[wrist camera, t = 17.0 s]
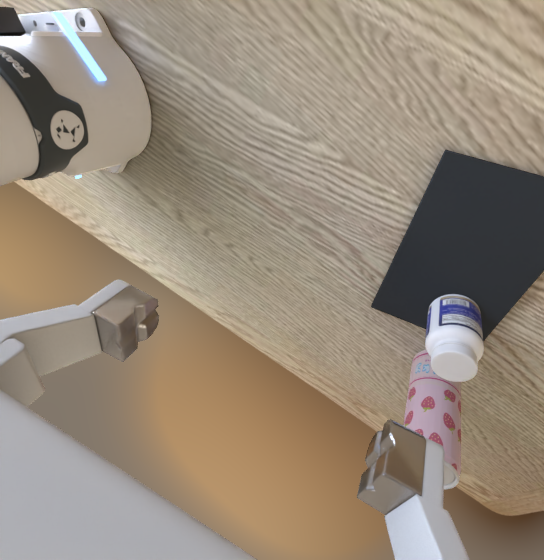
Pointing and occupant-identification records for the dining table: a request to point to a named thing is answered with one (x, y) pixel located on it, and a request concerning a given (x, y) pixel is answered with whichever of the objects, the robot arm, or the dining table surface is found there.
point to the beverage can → (436, 413)
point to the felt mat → (469, 242)
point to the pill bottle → (454, 337)
